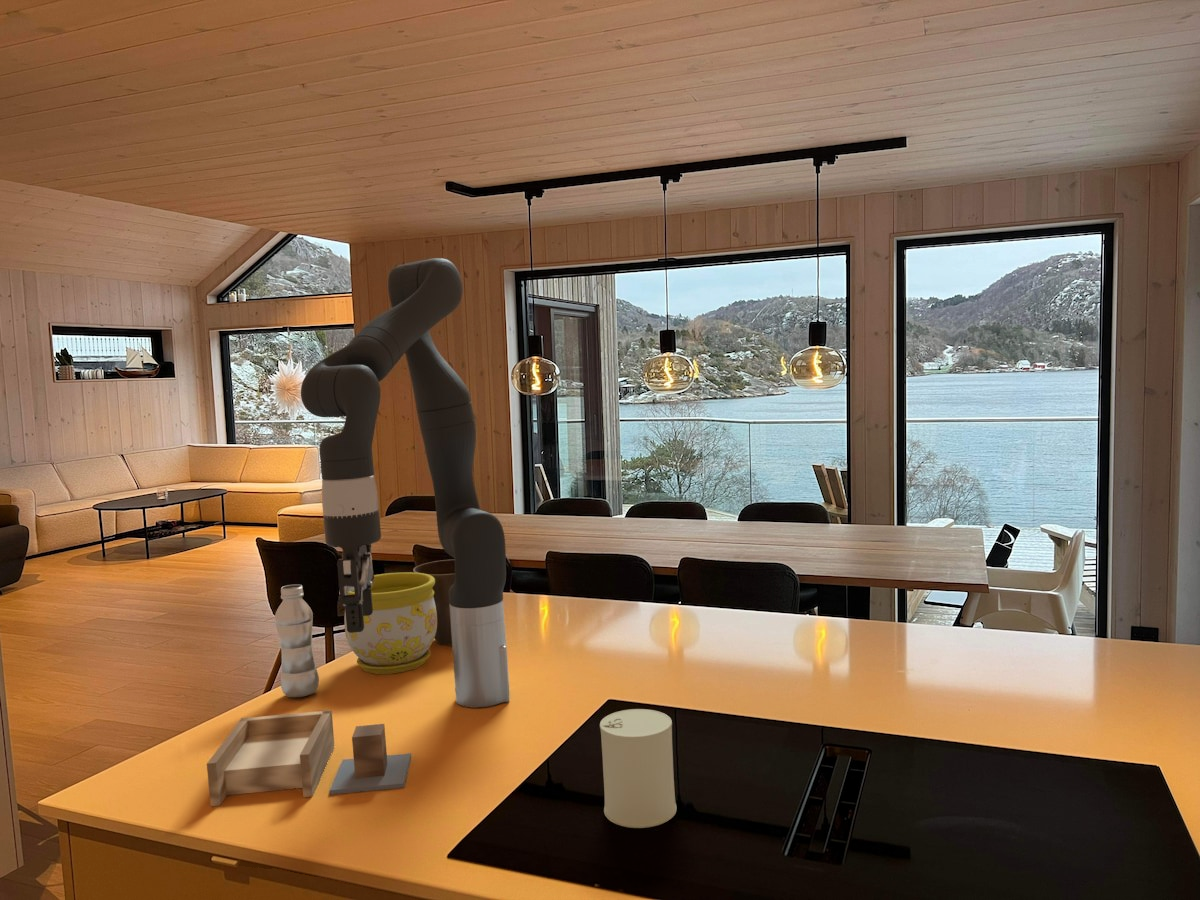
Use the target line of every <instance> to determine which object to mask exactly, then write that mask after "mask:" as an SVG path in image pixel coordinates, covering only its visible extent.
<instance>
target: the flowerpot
mask: <svg viewBox="0 0 1200 900" xmlns="http://www.w3.org/2000/svg"><path fill="white" fill-rule="evenodd" d="M373 575H374V580H373V581H372V582H373V586H372V588H369V589H371V594H372V605H373V613H372V614H371V615H369V616H363V618H364V629H363V631H362V632H354V633H349V632H348V631H347V624H346V612H345V611H344V618H343V619H344V622H343V623H344V632H345V633H344V634H345V637H346V641H347V643H348V646H349V647H350V650H351V651H352V653H354V654H355V656H356V657H358V658H356V659H357V660H356V664H357V665H358V666H360V667H361V669H362V671H364V672H367V673H368V674H369V673H370V674H375V675H390V674H399V673H403V672H407V671H411V670H414V669H418V668H419V667H421V666H423V665H424V664H425V663H426V662H427V660H428V658H429V657H430V656H431V654H432V652H431V650H430V647H431V645H432V644H433V642H434V641H435V638H434V637H435V634H436V630H437V612H436V605H435V601H434V596H433V595H434V591H433V588H432V587H433V586H434V585H435V579H434V577H433V576H431V575H428V574H423V573H414V572H410V571H409V572H408V571H407V572H388V573H381V574H373ZM354 594H355V591H354V590H351V591H349V592H348V595H354Z"/></svg>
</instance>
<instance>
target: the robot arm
mask: <svg viewBox="0 0 1200 900" xmlns="http://www.w3.org/2000/svg"><path fill="white" fill-rule="evenodd" d="M460 274H461V273H459V270H458V268H457V267H456V266H455V264H454V263H453V262H452V261H450V260H449V259H446V258H442V257H441V258H439V257H435V258H429V259H423V260H418V261H414V262H408V263H404V264H399V265H397V266H395V267H393V268H392V269H391V270H390V272H389V274H388V279H387V289H388V291H387V292H388V297H389V301H390V302H389V303H390V306H391V308H390V309H388V310H385V312H382V313H381V314H379V315H377V316H376V317H374V318H373V319H372V320H370V321H369V322H367V323H366V324H365V325H364V326H363V327H362V328H361V329H360V330H359V331H358V333H356V334H355V336H354V337H353V338H352V339H351V340H350V341H349V343H348V344H347V345H346V346H344V347H342V348H341V349H338V350H336V351H335V352H333V353H332V354H330V355H328V356H327V357H325V358H323V359H322V360H320V361H319V362H318V363H315V364H314V366H312V367H311V368H310V369H309V370H308V372H307V373H306V374H305V377H304V378H303V380H302V382H301V387H300V399H301V403H302V404H303V406H304V408H305V409H306V410H307V412H309V413H310V414H312V415H313V416H315V417H319V418H341V417H345V422H344V425H343V428H342V430H341V432H338V433H334V434H332V435H328V436H326V437H324V438H323V439H321V441H320V443H319V459H320V462H319V463H320V469H321V470H320V473H321V483H322V484H321V505H322V507H321V508H322V516H323V527H324V538H325V540H324V541H325V544H326V545H327V546H328V547H330V548H340V549H342V556H341V558H339V559H337V561H336V562H337V563H336V567H337V578H338V589H339V590H338V591H339V599H338V601H339V603H340V605H341V606H343V607H344V613H345V612H346V624H347V631H348V632H349V633H354V632H362V631H363V629H364V618H363V616H369V615H371V614H372V613H373V605H372V594H371V589H369V588H372V586H373V582H372V581H373V580H374V575H375V574H374V568H373V557H372V544H375V543H377V542H379V541H380V540H381V538H382V532H381V520H380V519H381V517H380V507H379V506H380V505H379V495H378V488H377V484H376V478H375V471H374V470H375V469H374V459H373V458H374V457H373V441H374V437H375V435H374V434H375V429H376V422H377V419H378V418H377V417H378V413H379V408H380V405H381V404H380V403H381V387H380V386H381V385H380V382H381V381H383V380H385V378H386V377H387V376H388V375H389V373H390V372H391V371H392V369H393V368H394V367H396V364H397V363H398V362H399V360H401V358H402V357H403V356H404V355H405V359H406V363H407V368H408V372H409V376H410V381H411V384H412V385H411V386H412V390H413V397H414V403H415V408H416V409H415V410H416V415H417V419H418V424H419V429H420V433H421V434H420V435H421V437H422V441H423V447H424V450H425V455H426V460H427V464H428V470H429V473H430V476H431V481H432V487H433V493H434V502H435V504H434V505H435V514H436V525H437V526H436V527H437V534H438V535H437V536H438V540H439V544H440V545H441V547H442V549H443V550H444V552H446V554H447V555H449V556H450V557H452V559H453V558H454V559H455V582H454V584H453V585H452V586H451V587H450V588H449V606H450V621H451V635H452V645H451V647H452V648H451V649H452V659H453V660H452V662H453V676H454V691H455V701H456V704H458V705H460V706H462V707H467V708H488V707H492V706H496V705H498V704H499V705H500V704H502V703H508V702H510V681H509V680H510V679H509V664H508V662H509V661H508V647H507V637H506V623H505V610H504V609H505V608H504V607H505V606H504V588H505V585H506V580H507V561H506V560H507V557H506V556H507V555H506V553H507V552H506V537H505V533H504V528H503V525H502V523H501V521H500V519H499V518H498V517H497V516H496V515H494V514H492V513H490V512H487V511H485V510H482V509H481V507H480V503H479V500H478V495H477V491H476V487H475V482H474V469H473V467H474V460H475V451H476V443H477V426H476V419H475V415H474V409H473V408H474V407H473V403H472V399H471V394H470V391H469V390H468V387H467V385H466V383H464V381H463V379H462V378H461V377H460V375H458V373H457V372H456V371H455V370H454V369H453V367H452V366H451V365H450V364H449V363H448V362H447V361H446V359H444V357H443V356H442V355H441V353H440V352H439V351H438V349H437V347H436V345H435V343H434V341H433V338H432V335H431V333H430V330H431V329H432V328H433V327H434V326H436V325H437V324H438V323H439V322H440V321H442V320H443V319H444V318H446V317H447V316H449V315H450V314H451V313H453V312H454V311H455V310H457V308H458V307H459V305H460V303H461V301H462V297H463V292H464V291H463V290H464V289H463V282H462V277H461V275H460ZM351 590H354V591H355V594H354V595H348V592H349V591H351Z"/></svg>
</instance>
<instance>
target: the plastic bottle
mask: <svg viewBox="0 0 1200 900" xmlns="http://www.w3.org/2000/svg"><path fill="white" fill-rule="evenodd" d="M303 588H304V587H303V585H302V584H287V585H284V586H282V587H281V588H280V594H281V595H280V599H281V600H282V602H281V603H280V605H279V606H278V608H277V609H276V611H275V615H274V622H275V623H274V624H275V627H276V630H277V635H278V639H279V640H278V641H279V647H280V651H281V652H280V653H281V673H280V674H281V675H280V687H281V691H282V692H283V694H284V695H285V697H286V696H287V697H289V698H302V697H307V696H310V695H312V694H315V693H316V691H317V690H318V688H319V686H320V685H319V684H320V675H319V672H318V669H317V666H316V661H315V656H314V655H315V654H314V650H313V618H314V616H313V615H314V613H313V611H312V609H311V607H310V606H309V604H308V603H307V602H306V601H305V600H304V599H303V597H304V589H303Z"/></svg>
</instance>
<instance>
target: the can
mask: <svg viewBox="0 0 1200 900" xmlns="http://www.w3.org/2000/svg"><path fill="white" fill-rule="evenodd" d="M672 721H673V720H672V718H671V717H670V716H669V715H667V714H666V713H664V712H661V711H658V710H654V709H645V708H631V709H623V710H620V711H615V712H613V713H610V714H608V715H605V716H604V717H603V718H602V719H601V720H600V723H599V729H600V737H601V753H602V772H603V788H604V789H603V791H604V807H603V813H604V816H605V817H606V818H607V820H608V821H610V822H611V823H613V824H615V825H618V826H619V827H620V826H621V827H625V828H631V829H632V828H633V829H644V828H645V829H646V828H652V827H657V826H660V825H663V824H664V823H665V824H666V822H668V821H669V820H671V819H672V818H674V816H675V815H676V813H677V803H676V796H675V795H676V794H675V792H676V791H675V780H674V779H675V778H674V777H675V776H674V775H675V773H674V757H673V756H674V755H673V754H674V753H673V722H672Z"/></svg>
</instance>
